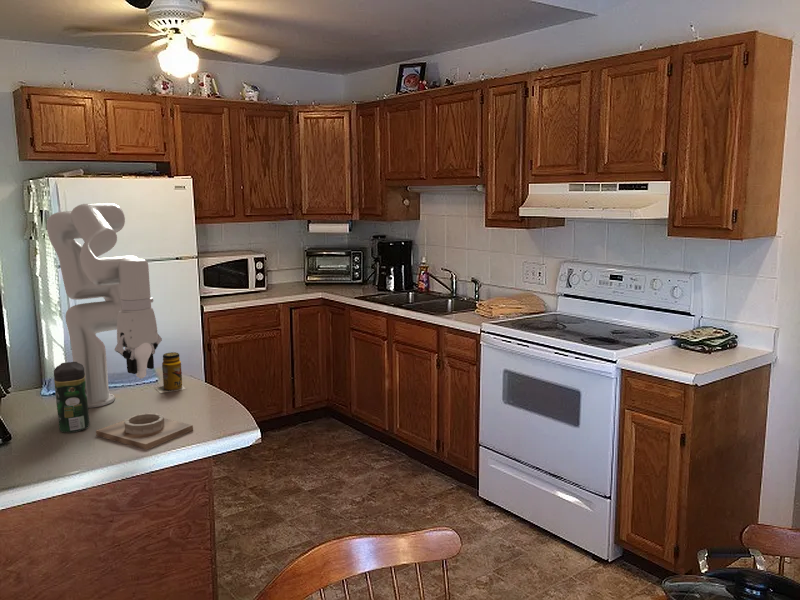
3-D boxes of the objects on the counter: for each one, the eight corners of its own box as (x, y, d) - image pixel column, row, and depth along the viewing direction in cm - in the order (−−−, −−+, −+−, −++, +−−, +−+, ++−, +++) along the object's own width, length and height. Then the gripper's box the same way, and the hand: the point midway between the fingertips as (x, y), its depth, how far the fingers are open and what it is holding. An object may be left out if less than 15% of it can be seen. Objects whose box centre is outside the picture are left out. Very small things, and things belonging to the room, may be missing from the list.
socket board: (96, 435, 184) (95, 421, 184) (144, 418, 198) (143, 405, 197) (146, 449, 174) (145, 435, 174) (193, 430, 188) (192, 416, 187)
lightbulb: (124, 381, 181) (122, 341, 179) (137, 374, 187) (134, 336, 185) (145, 382, 180) (143, 342, 178) (157, 375, 186) (155, 337, 184)
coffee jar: (59, 424, 193) (53, 361, 190) (89, 420, 196) (84, 358, 193) (58, 435, 184) (52, 370, 181) (89, 430, 188) (84, 366, 185)
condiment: (186, 389, 226) (184, 354, 224) (160, 393, 221) (157, 358, 219) (180, 384, 232) (177, 350, 230) (154, 388, 227) (152, 353, 225)
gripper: (152, 299, 189) (156, 361, 192) (99, 308, 174) (104, 376, 178) (170, 301, 185) (175, 365, 188) (118, 311, 171) (123, 380, 174)
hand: (140, 369), depth 183 cm, fingers closed on lightbulb, 4 cm apart
